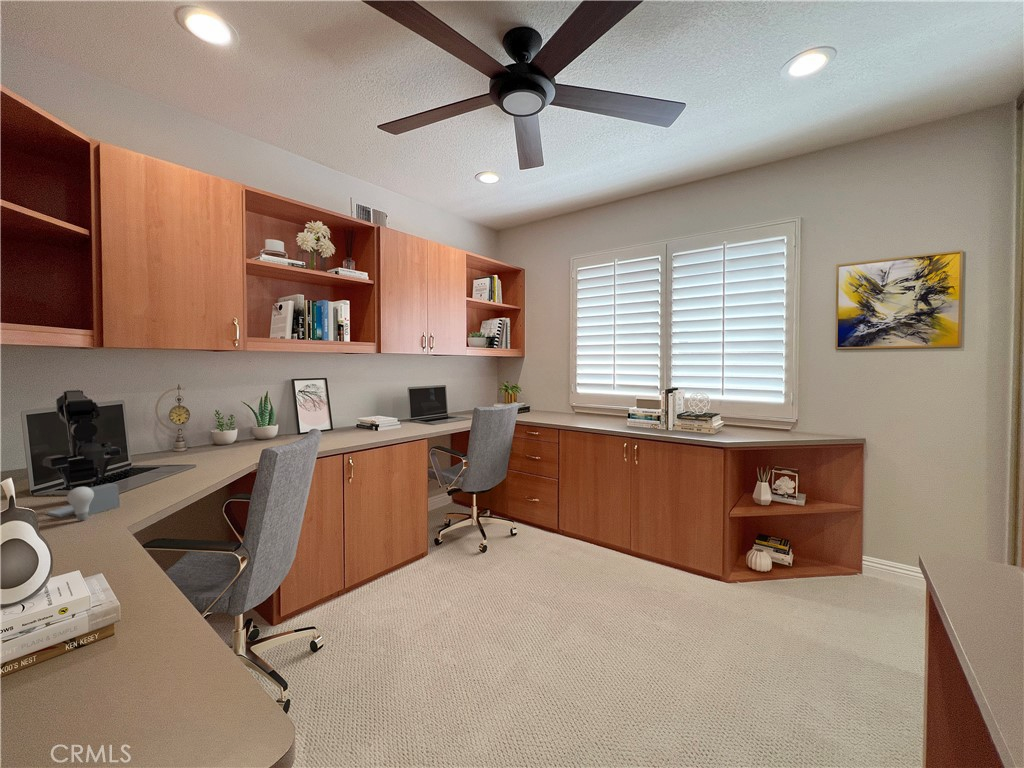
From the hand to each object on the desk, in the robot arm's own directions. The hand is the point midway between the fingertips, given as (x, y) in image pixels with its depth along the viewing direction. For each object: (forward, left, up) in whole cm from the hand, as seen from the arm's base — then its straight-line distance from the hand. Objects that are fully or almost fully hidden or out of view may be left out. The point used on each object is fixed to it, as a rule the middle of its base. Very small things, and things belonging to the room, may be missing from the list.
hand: (85, 480), depth 147 cm
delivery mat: (-3, -3, -10) cm, 11 cm away
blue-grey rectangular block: (+6, 0, -10) cm, 11 cm away
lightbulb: (+12, -7, -10) cm, 17 cm away
